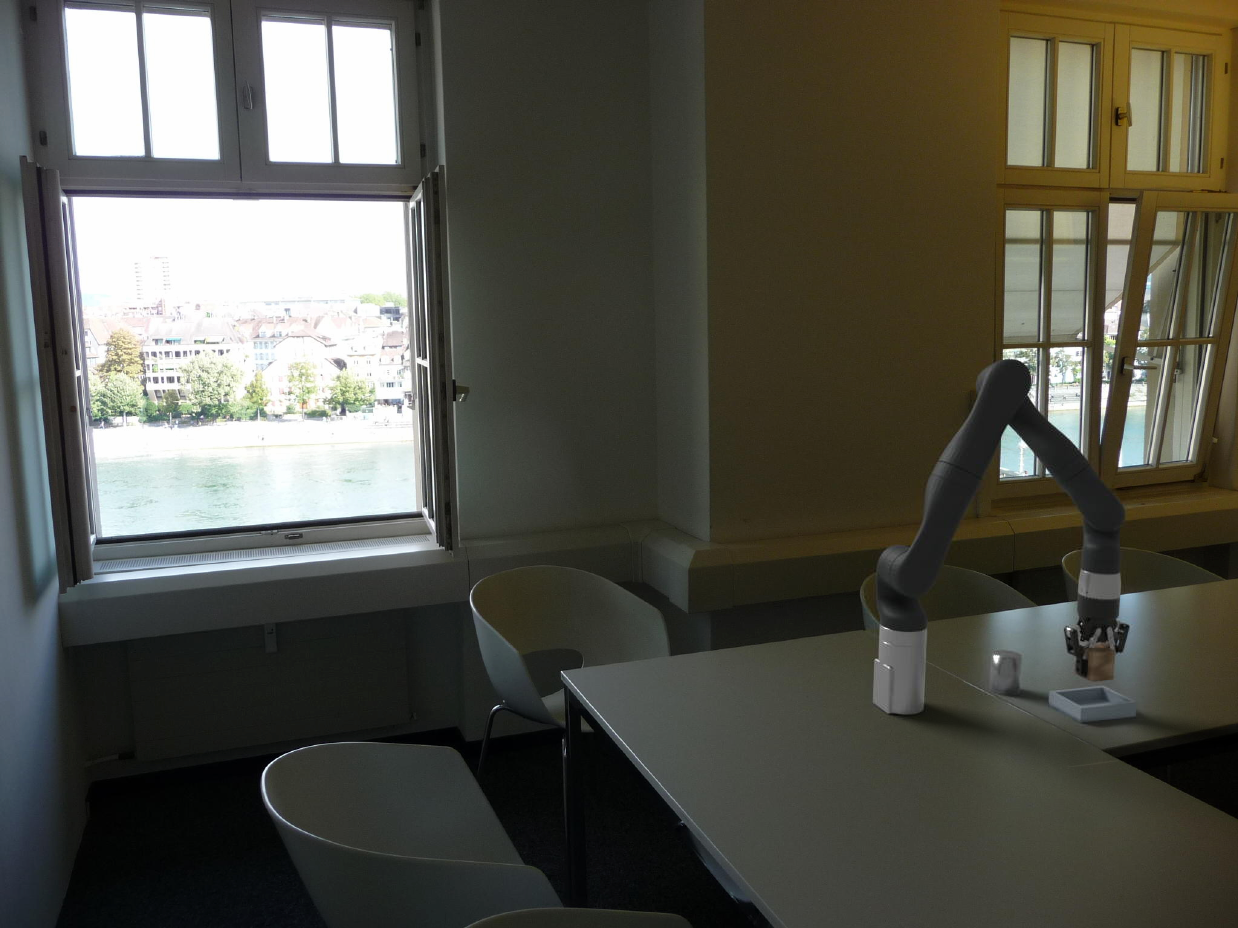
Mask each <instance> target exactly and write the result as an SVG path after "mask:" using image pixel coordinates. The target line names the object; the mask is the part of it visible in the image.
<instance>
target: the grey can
mask: <svg viewBox="0 0 1238 928" xmlns="http://www.w3.org/2000/svg"><path fill="white" fill-rule="evenodd" d="M990 656H991V658H990V672H989V673H990V676H989V691H991V692H992V693H994V694H996V695H999V696H1005V697H1014V696H1015V697H1016V696H1017V695H1020V694H1021V681H1022V680H1021V679H1022V664H1023V663H1022V661H1023V659H1022V658H1023V656H1022V654H1020V653H1018V652H1016V651H1012V650H1007V649H995V650H993V651H991V655H990Z"/></svg>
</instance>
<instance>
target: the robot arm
mask: <svg viewBox="0 0 1238 928" xmlns="http://www.w3.org/2000/svg"><path fill="white" fill-rule="evenodd" d="M1032 381H1033V379H1032V374H1031V371H1030V369H1029V367H1028V366H1027V365H1026V364H1025V363H1024V362H1022V361H1021V360H1019V359H1014V358H1005V359H1000V360H998V361H995V362H993V363H991V364H990V365H989V366H987V367H986V368H984V369H983V370H981V372H980V373H979V374H978V377H977V379H976V382H975V389H976V393H977V397H976V400H975V402H974V404H973V407H972V409H971V411H970V413H969V415H968V417H967V419H966V420H965V422H963V424H962V426H961V427H960V428H959V430H957V432H956V434H955V435H954V436H953V437H952V439H951V440H950V441H949V443H948V444H947V445H946V447H945V449H944V450H943V452H942V453H941V455H940V457H939V459H938V461H937V462H936V463H935V466H934V468H933V470H932V472H931V474H930V476H929V478H928V480H927V482H926V483H927V484H926V486H925V494H924V507H923V516H922V517H923V518H922V521H921V523H920V527H919V529H918V532H917V533H916V536H915V537H914V539H913V541H912V544H911V545H910V546H907V545H903V544H894V545H891V546H888V547H887V548H886V549H885V550H884V551H883V552H881V555H880V556H879V558H878V561H877V565H876V571H875V572H876V573H875V578H876V580H875V585H876V587H875V588H876V591H875V593H876V595H875V598H876V599H875V600H876V608H877V611H878V615H879V638H878V639H879V640H878V658H874V662H873V688H872V690H873V692H872V694H873V695H872V704H874V705H875V706H877V707H878V708H879V709H881V710H882V711H884V712H885V713H886V714H898V715H916V714H919V713H922V712H923V711H924V707H925V705H924V704H925V686H926V683H925V681H926V661H927V657H926V656H927V639H928V614H927V613H926V611H925V609H924V607H923V605H922V603H921V602H920V601H921V600H920V598H921V597H923V596H924V595H926V594H928V593H929V592H930V590H931V589H933V586H934V585H935V584H936V582H937V579H938V577H939V575H940V572H941V570H942V567H943V565H944V562H945V559H946V556H947V553H948V551H949V548H950V546H951V544H952V541H953V539H954V537H955V535H956V533H957V531H958V529H959V527H960V525H961V523H962V520H963V518H964V516H965V514H966V512H967V510H968V508H969V506H970V504H971V503H972V501H973V499H974V498H975V495H976V494H977V492H978V490H979V488H980V486H981V484H982V481H983V480H984V478H985V476H986V473H987V471H988V469H989V467H990V465H991V462H992V460H993V458H994V456H995V454H996V451H997V448H998V446H999V443H1000V442H1001V438H1002V437H1003V435H1004V433H1005V430H1007V428H1008V426H1009V427H1010V428H1011V429H1012V430H1013V431H1014V432H1015V433H1016V434H1017V435H1018V436H1019V438H1020V439H1021V440H1022V441H1023V442H1024V443H1025V444H1026V446H1027V447H1028V448H1029V449H1030V451H1031V452H1032V453H1033V454H1034V455H1035V456H1036V458H1037V459H1038V460H1039V462H1040V463H1041V465H1043V467H1044V468H1045V470H1046V471H1048V473H1049V475H1050V476H1052V478H1053V479H1054V481H1055V482H1056V483H1057V484H1058V486H1059V487H1061V489H1062V490H1063V491H1064V492H1065V493H1066V494H1067V495H1068V496H1069V497H1070V499H1071V501H1072V502H1073V504H1074V505H1075V506H1076V508H1077V509H1078V511H1079V513H1080V514H1081V516H1082V528H1083V529H1082V533H1083V541H1082V542H1083V543H1082V544H1083V545H1082V549H1081V559H1080V573H1079V577H1078V587H1077V603H1076V612H1077V614H1078V620H1077V622H1076V625H1073V626H1069V625H1065V626H1064V627H1063V632H1064V633H1063V635H1064V639H1065V647H1066V651H1067V653H1068V655H1072V656H1073V657H1076V672H1077V674H1078V675H1077V674H1076V675H1077V676H1079V675H1080V676H1079V677H1081V676H1082V677H1081V678H1083V677H1087V673H1088V657H1089V651H1091V650H1092V649H1094V646H1095V644H1096V643H1099V644H1100V645H1102V646H1106V647H1107V648H1109V649H1113V650H1115V656H1116V655H1117V654H1122V653H1123V652H1124V650H1125V646H1126V643H1127V640H1128V635H1129V631H1130V624H1127V623H1125V622H1122V621H1120V620H1118V621H1117V619H1118V618H1119V617H1120V607H1121V606H1120V605H1121V591H1122V590H1121V589H1122V579H1121V578H1122V577H1121V566H1122V565H1121V564H1122V548H1121V545H1120V544H1121V543H1120V540H1121V539H1120V538H1121V527H1122V525H1123V524H1124V522H1125V520H1126V513H1127V512H1126V508H1125V506H1124V504H1123V503H1122V501H1121V499H1120V498H1119V497H1118V496H1116V494H1114V493H1113V492H1112V490H1111V489H1110V488H1109V487H1108V486H1107V484H1105V482H1104V481H1103V480H1102V479H1101V478H1100V476H1098V474H1097V472H1096V470H1095V468H1094V467H1093V465H1092V464H1091V463H1090V461H1089V460H1088V459H1087V458H1086V456H1085V455H1084V454H1083V453H1082V451H1081V450H1080V449H1079V448H1078V447H1077V446H1076V445H1075V444H1074V442H1073V441H1072V440H1071V439H1070V438H1068V437H1067V435H1065V434H1064V433H1063V432H1062V431H1061V430H1060V429H1058V427H1056V426H1055V425H1054V424H1052V423H1051V422H1050V421H1049V420H1048V419H1047V418H1046V417H1045V416H1044V415H1043V414H1042V413H1041V411H1039V409H1038V408H1037V407H1036V406H1035V404H1034V403H1033V401H1032V400H1031V398H1030V396H1029V393H1030V391H1031V388H1032ZM1087 642H1088V643H1087ZM1084 647H1085V648H1084ZM1082 648H1084V651H1083V652H1082Z"/></svg>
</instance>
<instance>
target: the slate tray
mask: <svg viewBox="0 0 1238 928" xmlns="http://www.w3.org/2000/svg"><path fill="white" fill-rule="evenodd" d="M1048 706H1049V707H1050V708H1053V709H1055V710H1056V711H1058V712H1059V713H1061V714H1063V715H1065V716H1067V717H1069V718H1071V719H1073V720H1074V721H1076V722H1077V723H1079V724H1082V723H1083V724H1084V723H1092V722H1093V723H1094V722H1100V721H1109V720H1115V719H1117V720H1118V719H1126V718H1134V717H1137V706H1138V701H1135V700H1134V699H1131V698H1129V697H1128V696H1126V695H1124V694H1121V693H1119V692H1117V691H1115V690H1113V689H1111V688H1109V687H1107V686H1105V685H1097V686H1096V685H1095V686H1088V687H1078V688H1068V689H1060V690H1059V689H1057V690H1049V691H1048Z"/></svg>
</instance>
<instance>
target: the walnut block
mask: <svg viewBox="0 0 1238 928" xmlns="http://www.w3.org/2000/svg"><path fill="white" fill-rule="evenodd" d="M1084 648H1085V647H1084ZM1084 648H1082V652H1083V651H1084ZM1074 657H1075V656H1074ZM1115 659H1116V655H1115V650H1113V649H1109V648H1107V647H1106V646H1102V645H1100V644H1099V642H1098V643H1096V644H1095V646H1094V649H1092V650H1091V651H1089V657H1088V673H1087V677H1082V676H1080V675H1078V674H1077V672H1076V657H1075V658H1074V674H1075V675H1077V676H1078V677H1081V678H1083V679H1085V680H1087V681H1089V682H1092V683H1094V682H1095V683H1096V682H1103V681H1104V682H1105V681H1113V680H1114V677H1115V676H1114V675H1115V674H1114V673H1115V662H1116V661H1115Z"/></svg>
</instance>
